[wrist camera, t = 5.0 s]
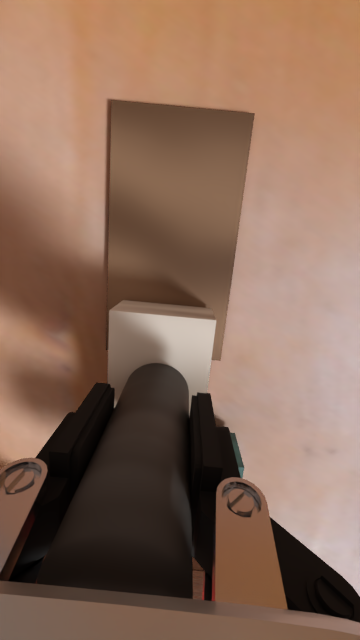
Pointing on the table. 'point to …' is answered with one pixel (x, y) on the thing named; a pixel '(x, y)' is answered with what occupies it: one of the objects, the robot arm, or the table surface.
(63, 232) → the table surface
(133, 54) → the table surface
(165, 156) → the track
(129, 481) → the striker
